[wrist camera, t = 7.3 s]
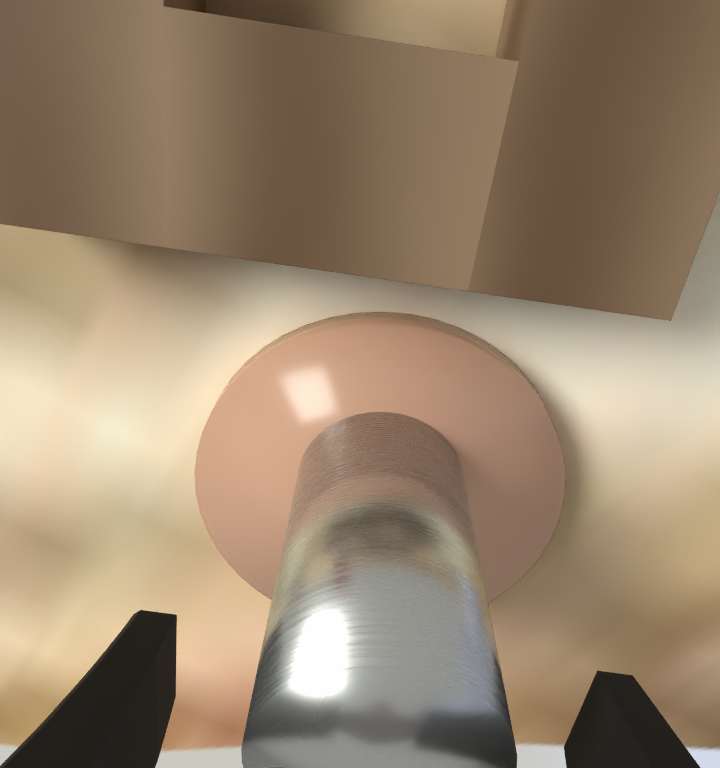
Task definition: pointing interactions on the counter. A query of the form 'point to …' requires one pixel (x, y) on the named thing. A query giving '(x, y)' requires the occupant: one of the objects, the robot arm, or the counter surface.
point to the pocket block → (376, 143)
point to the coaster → (380, 394)
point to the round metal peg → (379, 613)
